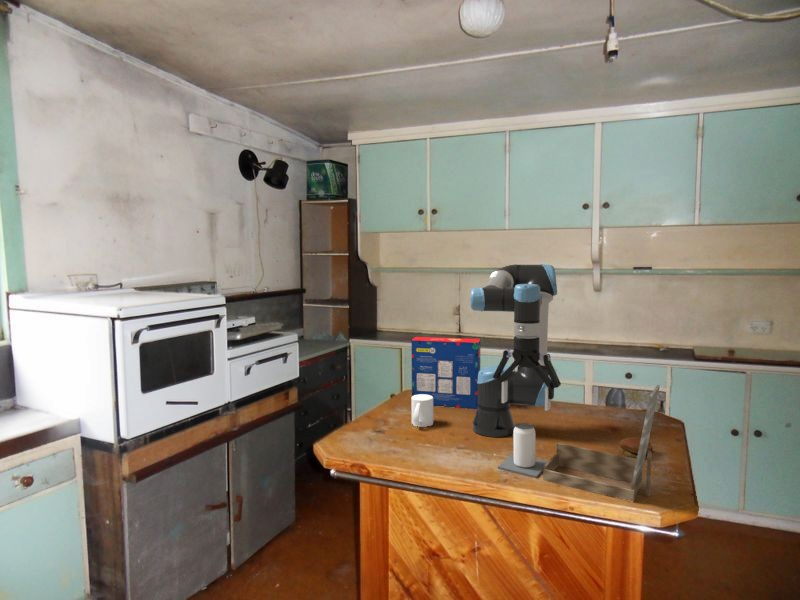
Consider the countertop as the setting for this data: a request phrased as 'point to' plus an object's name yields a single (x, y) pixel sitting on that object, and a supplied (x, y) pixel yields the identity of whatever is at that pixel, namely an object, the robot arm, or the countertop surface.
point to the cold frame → (605, 464)
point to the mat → (531, 471)
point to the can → (524, 445)
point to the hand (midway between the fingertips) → (525, 405)
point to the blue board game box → (446, 370)
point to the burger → (632, 447)
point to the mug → (422, 410)
